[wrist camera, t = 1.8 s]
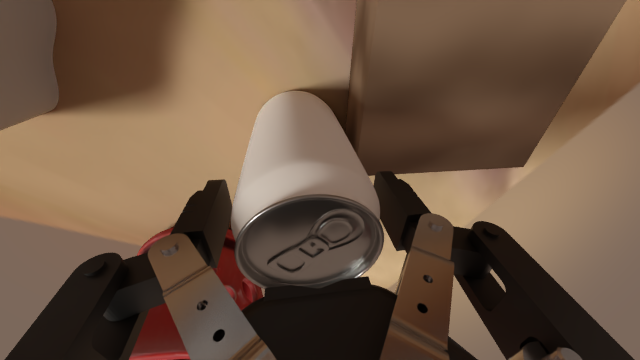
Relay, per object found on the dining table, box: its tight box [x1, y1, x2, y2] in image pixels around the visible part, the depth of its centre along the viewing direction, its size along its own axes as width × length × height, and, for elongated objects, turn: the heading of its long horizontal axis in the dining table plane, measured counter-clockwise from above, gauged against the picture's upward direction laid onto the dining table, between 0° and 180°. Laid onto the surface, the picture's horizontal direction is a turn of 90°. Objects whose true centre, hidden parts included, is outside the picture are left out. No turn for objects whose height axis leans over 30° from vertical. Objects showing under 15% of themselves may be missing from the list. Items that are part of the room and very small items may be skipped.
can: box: [231, 91, 384, 289], centre depth 13 cm, size 6×6×12 cm
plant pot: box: [129, 227, 263, 360], centre depth 20 cm, size 13×13×12 cm
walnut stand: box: [345, 0, 626, 176], centre depth 15 cm, size 14×14×4 cm
